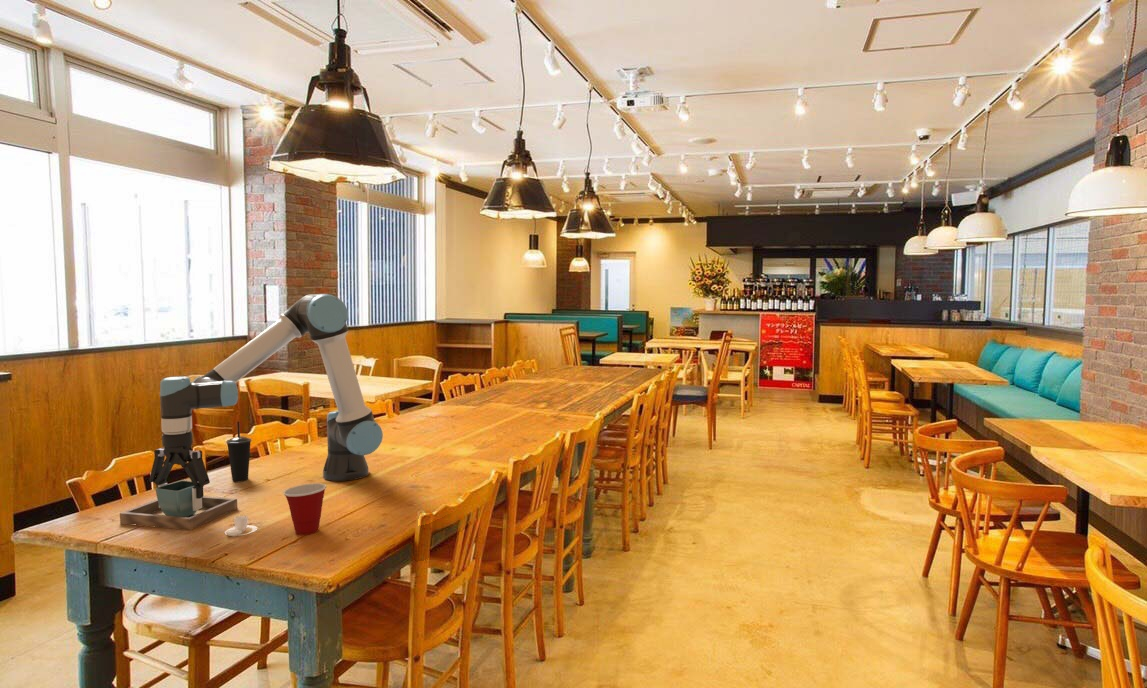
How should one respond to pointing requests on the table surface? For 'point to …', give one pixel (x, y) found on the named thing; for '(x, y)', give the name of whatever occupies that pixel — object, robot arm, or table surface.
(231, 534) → the teacup and saucer
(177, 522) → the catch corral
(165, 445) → the robot arm
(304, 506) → the plastic cup
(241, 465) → the drinking cup
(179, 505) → the flower pot
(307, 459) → the table surface
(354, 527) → the table surface
